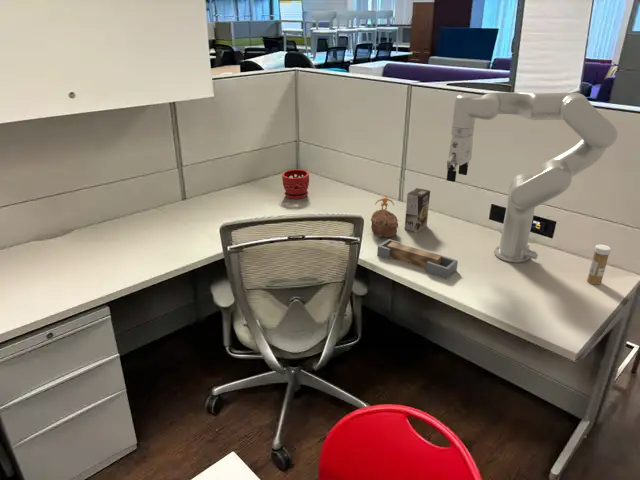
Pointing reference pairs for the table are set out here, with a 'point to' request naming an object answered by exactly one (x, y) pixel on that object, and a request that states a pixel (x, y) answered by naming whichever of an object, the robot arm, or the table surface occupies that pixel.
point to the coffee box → (417, 209)
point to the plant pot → (296, 183)
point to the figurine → (384, 201)
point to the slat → (413, 255)
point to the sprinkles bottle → (598, 264)
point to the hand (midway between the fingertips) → (456, 177)
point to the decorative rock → (384, 223)
